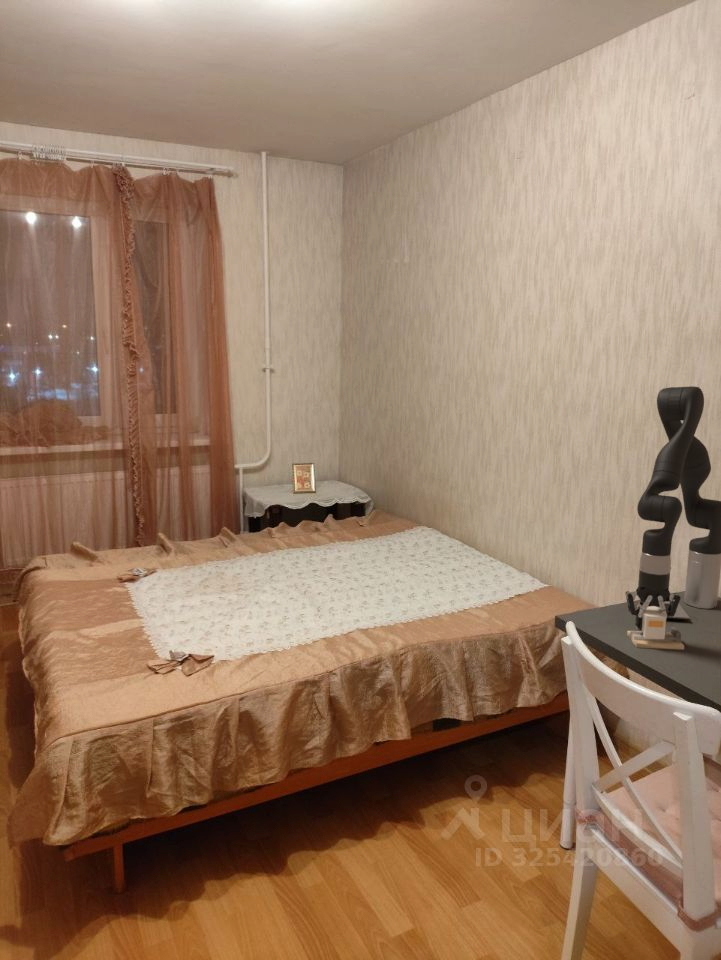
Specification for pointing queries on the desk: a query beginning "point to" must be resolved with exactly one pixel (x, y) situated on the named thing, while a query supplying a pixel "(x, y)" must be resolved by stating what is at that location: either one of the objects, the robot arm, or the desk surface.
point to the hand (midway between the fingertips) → (649, 629)
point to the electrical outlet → (677, 612)
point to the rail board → (657, 640)
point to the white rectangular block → (653, 623)
